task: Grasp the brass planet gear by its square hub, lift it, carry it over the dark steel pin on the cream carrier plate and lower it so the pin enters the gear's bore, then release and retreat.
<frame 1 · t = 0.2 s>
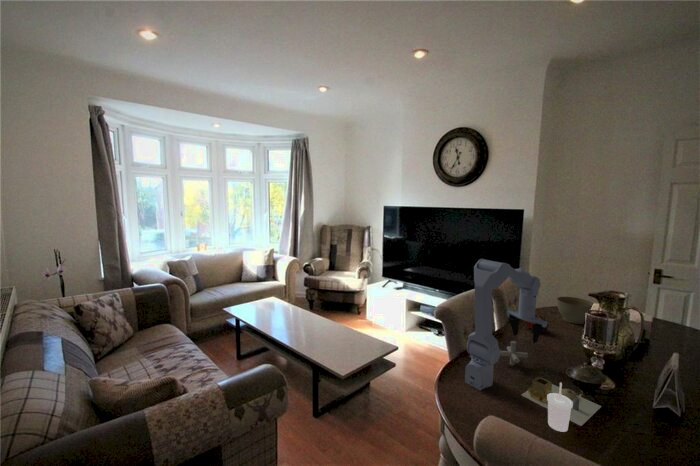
hand: (525, 338, 124), 10 cm above the table, fingers open, 7 cm apart
carrier: (559, 403, 100), on the table
pipe connector: (512, 366, 122), on the table
beverage cup: (557, 429, 89), on the table
planter bowl: (573, 321, 166), on the table
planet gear: (541, 395, 102), point 1 cm above the table, touching carrier
dragon fruit: (534, 330, 154), on the table
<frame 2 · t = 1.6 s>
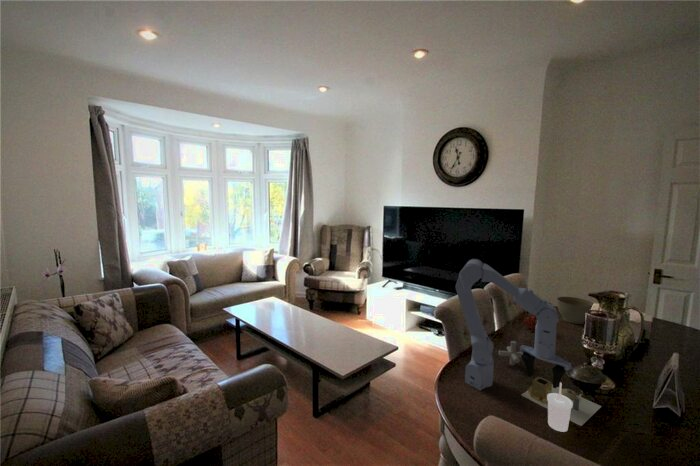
hand: (542, 381, 101), 6 cm above the table, fingers open, 7 cm apart
nothing on the table moved.
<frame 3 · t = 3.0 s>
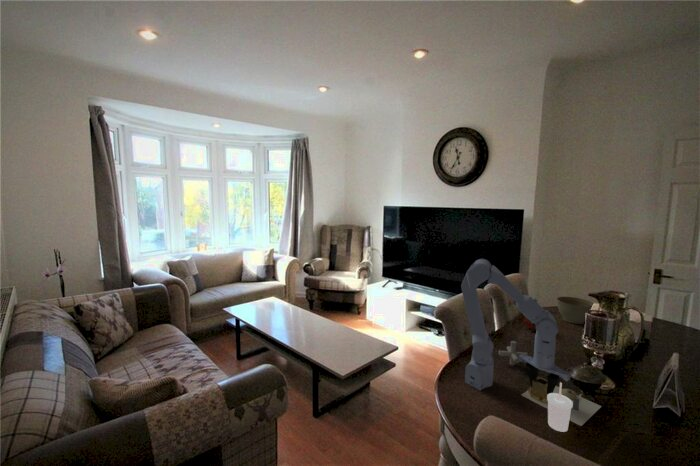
hand: (541, 390, 102), 3 cm above the table, fingers closed on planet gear, 4 cm apart
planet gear: (541, 395, 102), point 1 cm above the table, touching carrier, gripper
everything else where it was.
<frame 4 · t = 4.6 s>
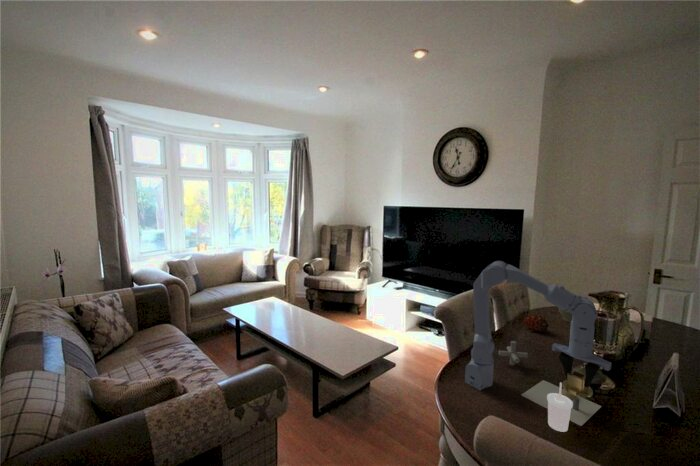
hand: (577, 381, 95), 10 cm above the table, fingers closed on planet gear, 4 cm apart
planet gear: (577, 390, 95), point 7 cm above the table, touching gripper
everything else where it was.
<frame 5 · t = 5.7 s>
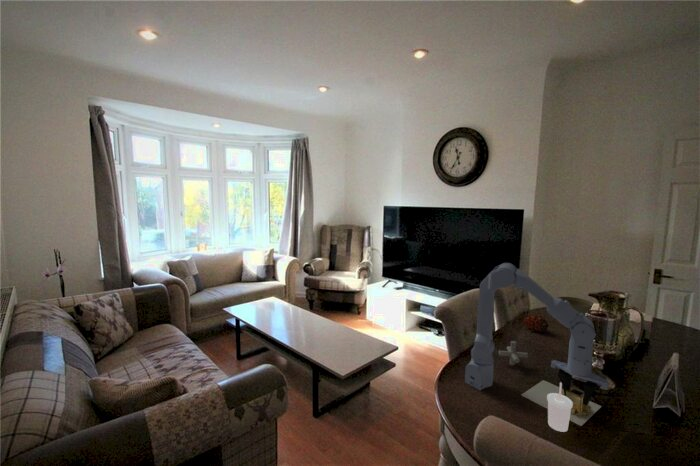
hand: (576, 399, 95), 4 cm above the table, fingers closed on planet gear, 4 cm apart
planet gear: (575, 407, 96), point 1 cm above the table, touching gripper
everything else where it was.
when the fingers open (4 cm above the table, at t = 6.5 s): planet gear stays where it is, resting on carrier.
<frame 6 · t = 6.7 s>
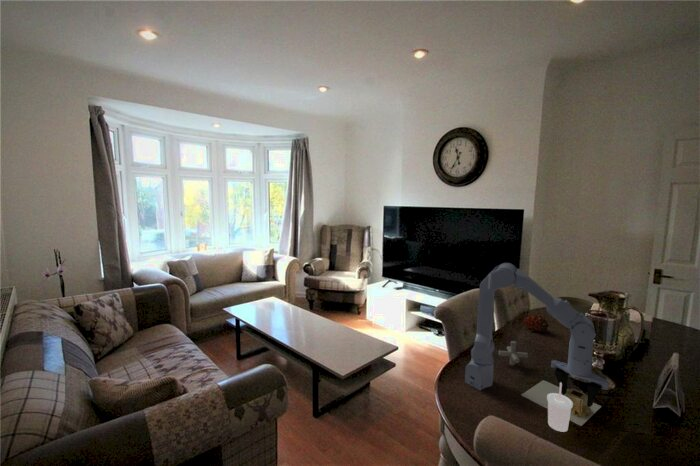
hand: (576, 399, 95), 4 cm above the table, fingers open, 6 cm apart
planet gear: (575, 408, 96), point 1 cm above the table, touching carrier
everything else where it was.
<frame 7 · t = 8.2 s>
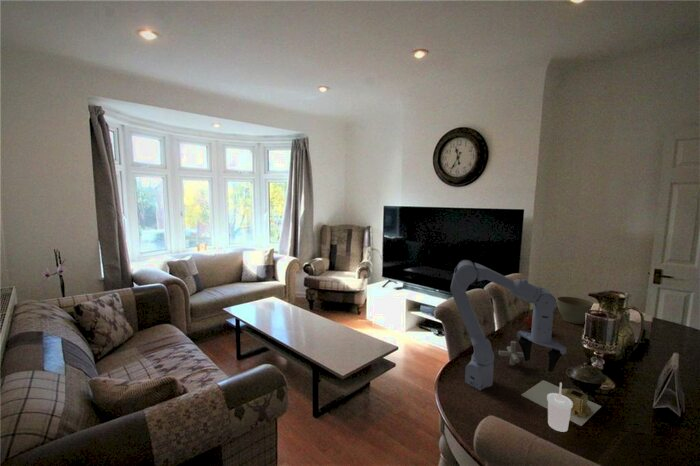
hand: (538, 365, 104), 10 cm above the table, fingers open, 7 cm apart
nothing on the table moved.
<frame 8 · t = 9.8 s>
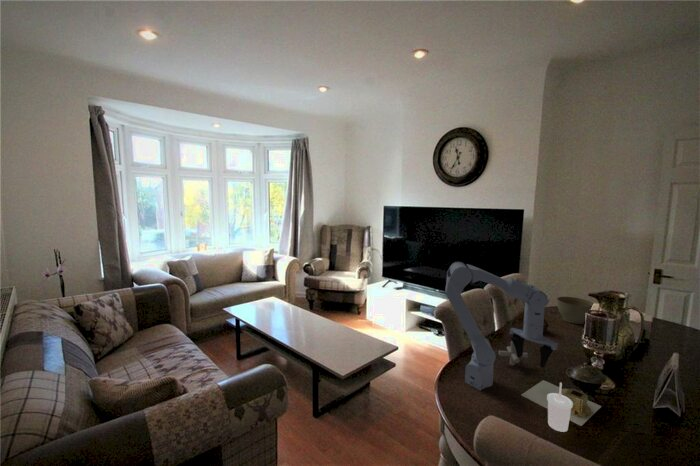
hand: (531, 361, 106), 10 cm above the table, fingers open, 7 cm apart
nothing on the table moved.
at the end: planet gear 0.0 cm from the target spot on the carrier, point 1.0 cm above the carrier's base; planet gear tilted 0°; the gripper is holding nothing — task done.
